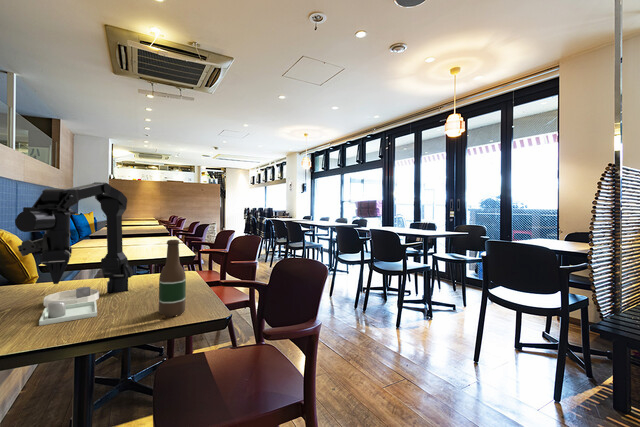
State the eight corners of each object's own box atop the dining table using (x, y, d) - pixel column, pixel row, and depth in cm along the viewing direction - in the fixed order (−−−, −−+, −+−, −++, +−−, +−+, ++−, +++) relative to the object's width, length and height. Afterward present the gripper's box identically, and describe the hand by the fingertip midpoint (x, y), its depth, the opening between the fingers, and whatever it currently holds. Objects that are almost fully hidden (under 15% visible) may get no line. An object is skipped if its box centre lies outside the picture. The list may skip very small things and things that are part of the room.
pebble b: (65, 312, 94) (65, 300, 94) (65, 316, 91) (65, 303, 91) (48, 315, 91) (48, 302, 91) (47, 319, 88) (47, 305, 88)
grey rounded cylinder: (90, 297, 111) (90, 286, 111) (90, 299, 108) (90, 288, 108) (76, 298, 108) (76, 287, 108) (75, 301, 105) (75, 290, 105)
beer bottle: (158, 319, 92) (159, 241, 92) (158, 311, 99) (159, 239, 99) (186, 315, 96) (187, 240, 95) (184, 308, 102) (185, 238, 102)
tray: (96, 306, 103) (96, 300, 103) (97, 318, 92) (97, 312, 92) (44, 314, 95) (44, 307, 95) (39, 328, 84) (39, 321, 84)
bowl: (98, 294, 117) (98, 287, 117) (99, 304, 105) (99, 296, 105) (46, 301, 107) (46, 292, 107) (41, 313, 96) (41, 303, 96)
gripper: (25, 228, 93) (25, 278, 93) (14, 232, 79) (13, 291, 79) (72, 227, 100) (71, 274, 100) (69, 231, 85) (68, 285, 86)
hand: (57, 280), depth 91 cm, fingers open, 9 cm apart
